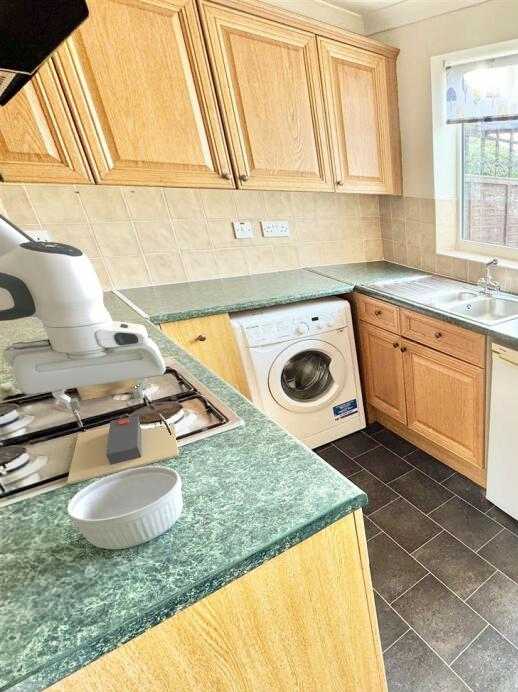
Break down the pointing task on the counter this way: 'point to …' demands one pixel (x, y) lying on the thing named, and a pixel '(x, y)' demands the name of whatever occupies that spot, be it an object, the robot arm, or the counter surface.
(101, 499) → the ramekin
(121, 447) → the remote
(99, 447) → the mat
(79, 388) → the wooden crate
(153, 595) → the counter surface
